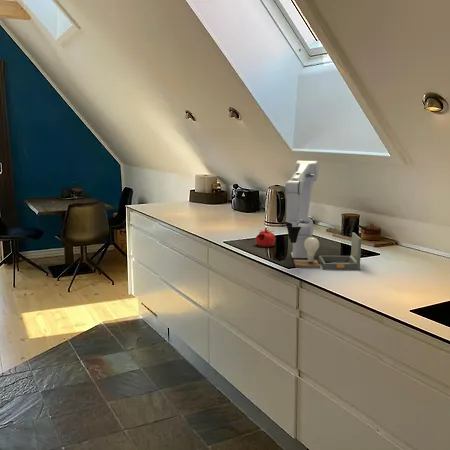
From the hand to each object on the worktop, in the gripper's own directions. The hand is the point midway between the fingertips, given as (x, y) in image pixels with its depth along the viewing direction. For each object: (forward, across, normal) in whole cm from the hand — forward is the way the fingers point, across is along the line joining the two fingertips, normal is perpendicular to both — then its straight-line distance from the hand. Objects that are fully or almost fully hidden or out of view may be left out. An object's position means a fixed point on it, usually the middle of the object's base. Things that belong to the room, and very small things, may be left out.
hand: (292, 240), depth 230 cm
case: (+10, -1, -19) cm, 22 cm away
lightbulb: (+10, 0, -8) cm, 12 cm away
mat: (+10, 0, -6) cm, 12 cm away
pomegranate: (+11, +37, +9) cm, 40 cm away
